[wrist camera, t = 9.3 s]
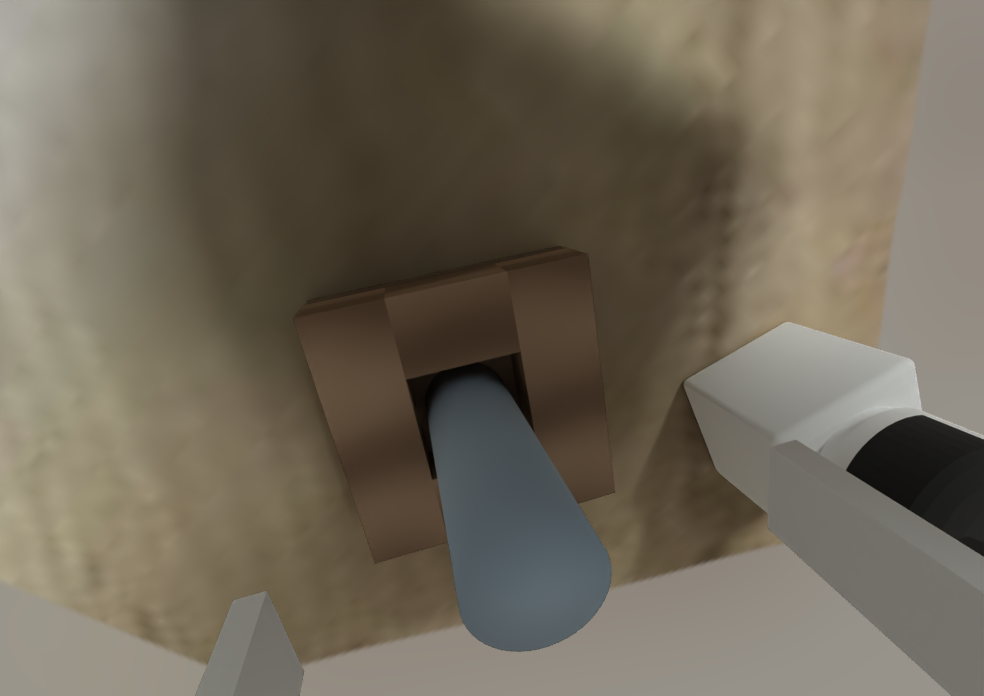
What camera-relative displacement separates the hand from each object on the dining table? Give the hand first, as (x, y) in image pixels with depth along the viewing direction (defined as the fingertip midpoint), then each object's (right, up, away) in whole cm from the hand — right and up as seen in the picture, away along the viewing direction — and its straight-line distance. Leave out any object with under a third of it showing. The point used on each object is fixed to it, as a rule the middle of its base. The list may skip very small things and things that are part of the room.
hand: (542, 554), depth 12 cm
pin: (-3, +3, +11) cm, 12 cm away
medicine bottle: (+14, +2, +16) cm, 21 cm away
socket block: (-3, +3, +12) cm, 13 cm away
